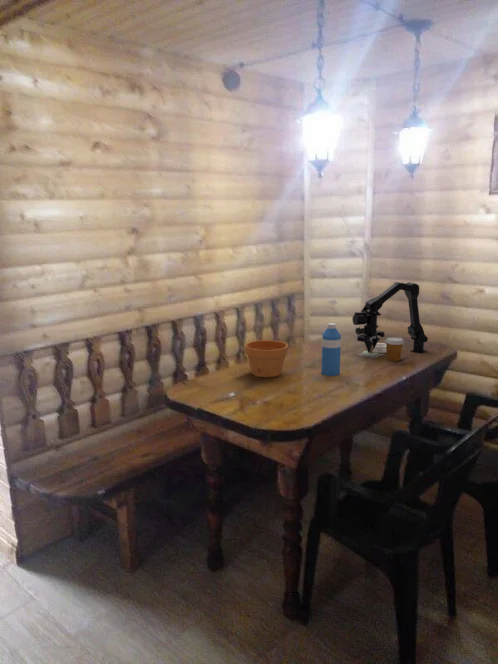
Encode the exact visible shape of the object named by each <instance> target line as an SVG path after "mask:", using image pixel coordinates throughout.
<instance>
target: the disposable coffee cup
mask: <svg viewBox="0 0 498 664" xmlns="http://www.w3.org/2000/svg"><path fill="white" fill-rule="evenodd" d="M384 341H385V342H384V343H385V344H386V348H387V352H386V357H387V361H391V362H399V361H400V360H401V354H402V350H403V344H404V339H403V337H396V336H389V337H387V338H386V339H385V340H384Z"/></svg>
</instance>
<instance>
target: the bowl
mask: <svg viewBox="0 0 498 664" xmlns="http://www.w3.org/2000/svg"><path fill="white" fill-rule="evenodd" d="M373 351H376V352H378V353H381V354H384V353H386V354H387V348H386V342H378V343H377V344H376V346H375V348H374V350H373Z"/></svg>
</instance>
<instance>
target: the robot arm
mask: <svg viewBox="0 0 498 664" xmlns="http://www.w3.org/2000/svg"><path fill="white" fill-rule="evenodd" d="M400 291H404V294H405V296H406V298H407V301H408V311H409V317H410V324H409V326H407V334H408V335H409V337H410V338H411V340H413V349H411V350H410V351H411V352H414V353H420V354H423V353H425V352H427V349H425V343H427V342H428V340H429V338H428V336H427V335H426V334H425V331H424V328H423V326H422V324H421V322H420V321H421V319H420V315H419V314H420V311H419V302H418V297H419V294H420V285H419V284H418V283H416V282H415V283H414V282H410V281H409V282H406V283H404V282H399V281H395V282H394V283H393V284H392V285H390V286H389V287H387V289H386V290H384V291H383V292H381V293H380V294H379V295H378V296H376V297H372V298H371V299H369V300H366V302H365V305H364V307H363V308H362V309H361V311H359V312H357V311H356V312H354V314H353V316H352V323H353V325H354V326H358V325H359V326H360V325H361V326H362V325H364V326H363V327H362V328H361V327H356V328H355V330H354V333H355V334H356V335H357V338H356V341H357V342H361V343H364V344H365V347H366V351H368V352H370V350H371V347H372V345H373V350H374V348H375V346H376V344H377V343H379V341H380V340H381V338H385V332H384V330H383V331H381V330H377V329H378V328H379V325H378V316H379V317H380V316H382V314H381V312H379V310H381V308H382V307H383V305H384V303H386V302H387V301H388V300H389V299H390V298H392V297H393V296H394V295H396V294H397V293H398V292H400Z"/></svg>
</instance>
